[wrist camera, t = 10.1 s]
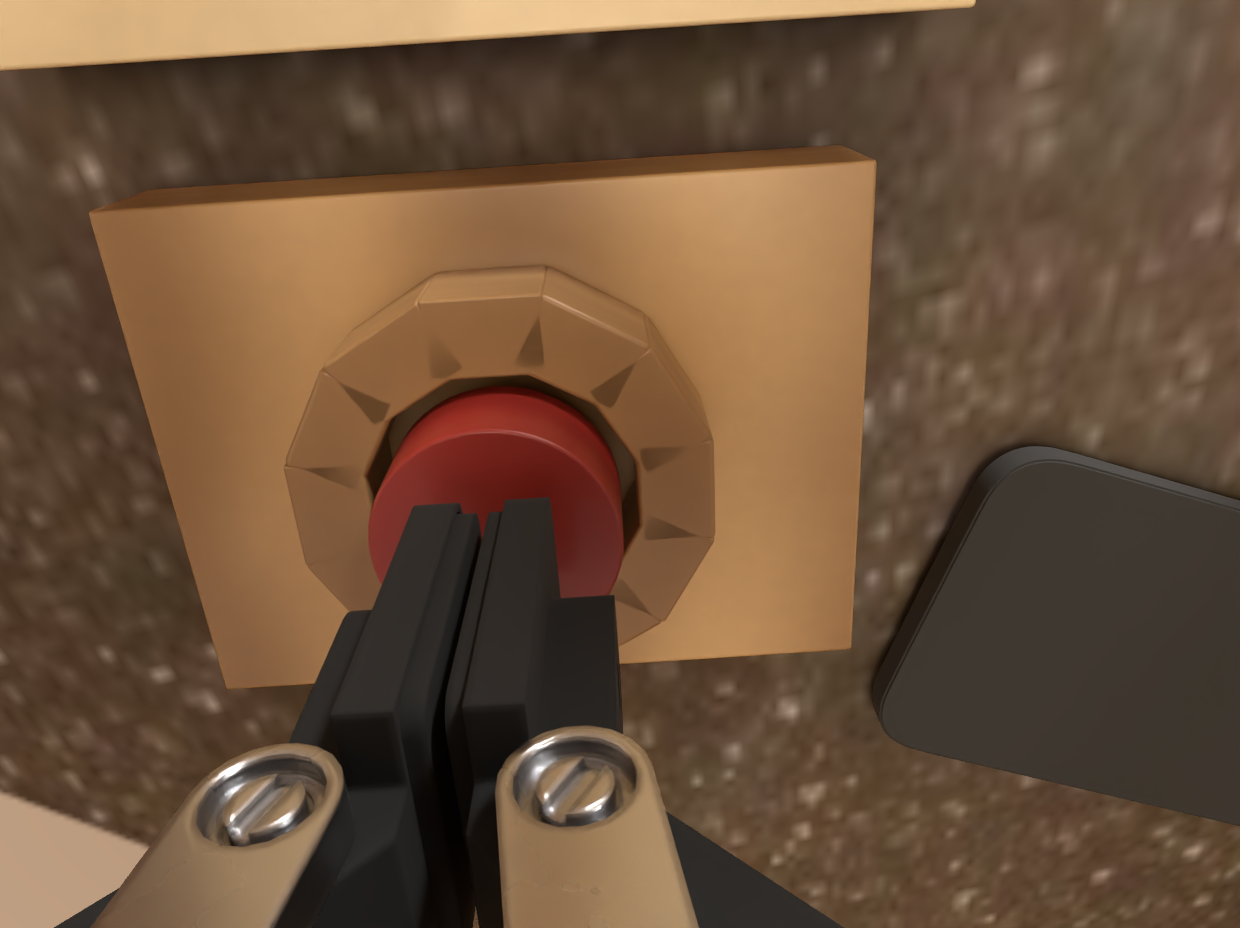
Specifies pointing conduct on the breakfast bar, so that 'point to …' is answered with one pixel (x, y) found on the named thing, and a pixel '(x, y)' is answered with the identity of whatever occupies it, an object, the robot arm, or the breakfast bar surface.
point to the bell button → (510, 478)
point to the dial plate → (355, 23)
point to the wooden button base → (513, 377)
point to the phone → (1080, 635)
